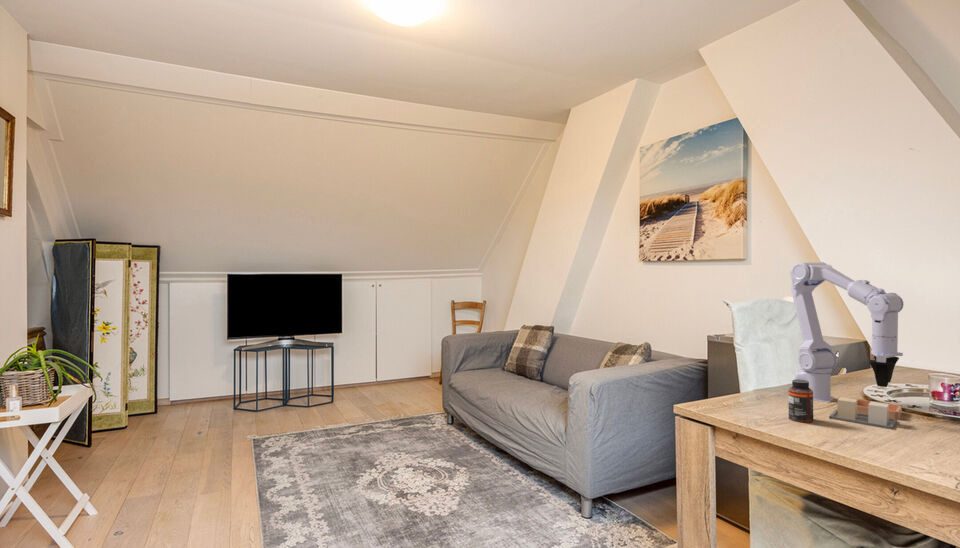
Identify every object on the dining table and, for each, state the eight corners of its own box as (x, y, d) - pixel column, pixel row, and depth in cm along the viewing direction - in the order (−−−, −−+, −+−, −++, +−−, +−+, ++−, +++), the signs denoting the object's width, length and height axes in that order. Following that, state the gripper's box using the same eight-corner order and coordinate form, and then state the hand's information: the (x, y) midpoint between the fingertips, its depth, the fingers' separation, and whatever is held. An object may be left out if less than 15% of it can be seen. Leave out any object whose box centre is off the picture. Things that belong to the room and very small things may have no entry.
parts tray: (829, 419, 146) (829, 416, 146) (835, 412, 152) (836, 409, 152) (892, 430, 136) (892, 427, 136) (896, 422, 143) (896, 419, 142)
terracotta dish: (849, 413, 152) (849, 404, 152) (855, 406, 158) (855, 398, 158) (897, 421, 144) (897, 412, 144) (901, 414, 150) (901, 405, 150)
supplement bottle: (810, 418, 147) (810, 379, 147) (816, 425, 141) (816, 384, 141) (786, 417, 149) (786, 377, 149) (791, 423, 143) (791, 382, 143)
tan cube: (837, 417, 147) (837, 399, 146) (840, 414, 149) (840, 397, 149) (854, 420, 144) (854, 402, 144) (857, 417, 147) (857, 399, 147)
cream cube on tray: (868, 422, 142) (868, 404, 142) (870, 419, 145) (870, 401, 144) (886, 425, 139) (886, 407, 139) (888, 422, 142) (888, 404, 142)
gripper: (900, 340, 138) (899, 391, 139) (905, 334, 149) (904, 381, 149) (867, 338, 143) (866, 387, 144) (874, 332, 154) (874, 377, 154)
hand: (883, 384), depth 147 cm, fingers open, 7 cm apart
